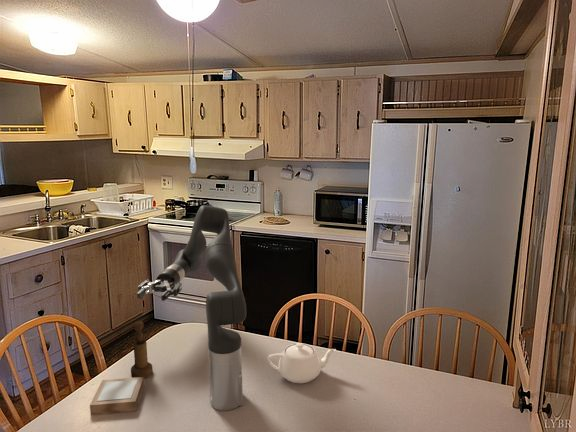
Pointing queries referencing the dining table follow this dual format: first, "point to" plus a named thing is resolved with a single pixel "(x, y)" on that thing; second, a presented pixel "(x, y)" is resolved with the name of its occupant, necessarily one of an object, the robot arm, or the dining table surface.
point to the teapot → (300, 362)
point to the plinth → (117, 396)
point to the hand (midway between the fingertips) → (150, 297)
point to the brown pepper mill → (140, 354)
